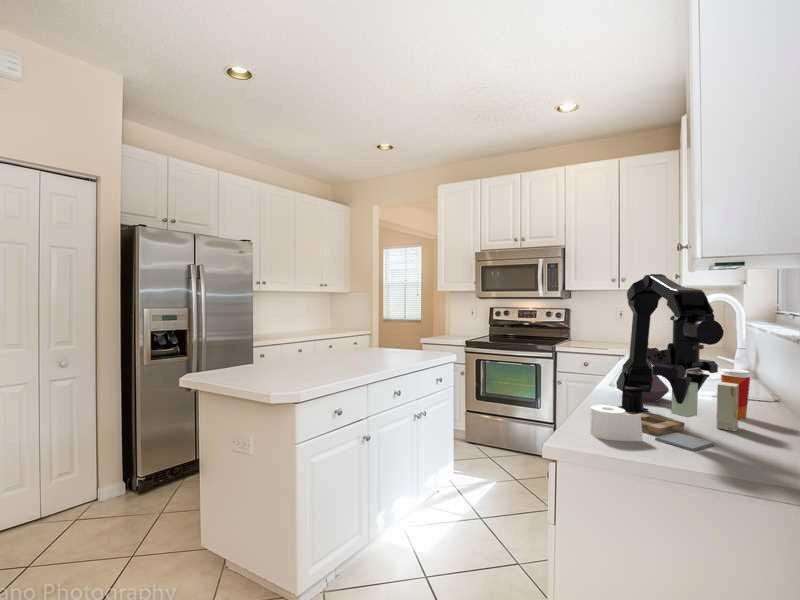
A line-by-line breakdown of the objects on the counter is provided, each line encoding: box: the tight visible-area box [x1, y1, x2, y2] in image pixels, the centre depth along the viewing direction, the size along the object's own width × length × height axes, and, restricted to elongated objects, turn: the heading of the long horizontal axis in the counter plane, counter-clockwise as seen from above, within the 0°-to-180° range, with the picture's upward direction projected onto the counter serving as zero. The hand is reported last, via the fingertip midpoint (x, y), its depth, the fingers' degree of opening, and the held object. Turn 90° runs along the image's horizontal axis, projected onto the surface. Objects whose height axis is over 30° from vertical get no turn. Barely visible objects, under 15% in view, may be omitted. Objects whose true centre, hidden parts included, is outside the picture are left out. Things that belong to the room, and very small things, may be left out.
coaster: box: [654, 432, 714, 452], centre depth 112 cm, size 9×9×1 cm
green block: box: [670, 382, 699, 418], centre depth 112 cm, size 4×4×8 cm
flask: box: [625, 341, 670, 403], centre depth 158 cm, size 16×16×20 cm
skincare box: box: [716, 382, 739, 432], centre depth 125 cm, size 6×4×12 cm
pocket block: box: [633, 412, 685, 437], centre depth 124 cm, size 12×12×2 cm
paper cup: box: [719, 368, 752, 420], centre depth 136 cm, size 8×8×14 cm
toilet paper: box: [589, 404, 644, 442], centre depth 117 cm, size 8×11×7 cm
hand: (684, 402), depth 112 cm, fingers closed on green block, 4 cm apart
